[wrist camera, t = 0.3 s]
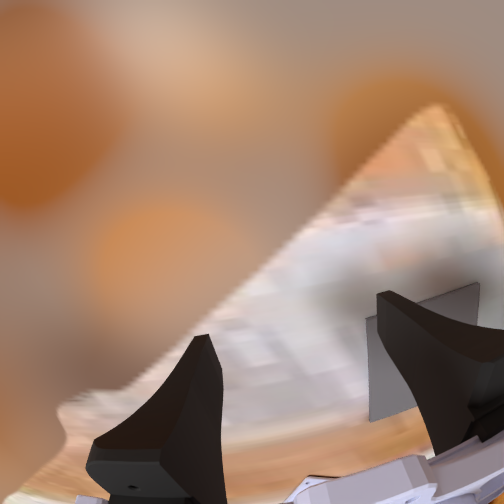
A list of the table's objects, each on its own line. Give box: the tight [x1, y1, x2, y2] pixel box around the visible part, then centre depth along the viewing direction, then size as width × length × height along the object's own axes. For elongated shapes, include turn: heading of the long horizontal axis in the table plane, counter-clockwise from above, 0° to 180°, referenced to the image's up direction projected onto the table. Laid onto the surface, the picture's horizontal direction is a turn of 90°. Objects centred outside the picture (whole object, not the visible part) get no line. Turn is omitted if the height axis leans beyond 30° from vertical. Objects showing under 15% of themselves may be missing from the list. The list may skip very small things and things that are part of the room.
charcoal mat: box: [366, 282, 480, 423], centre depth 25 cm, size 12×12×1 cm
